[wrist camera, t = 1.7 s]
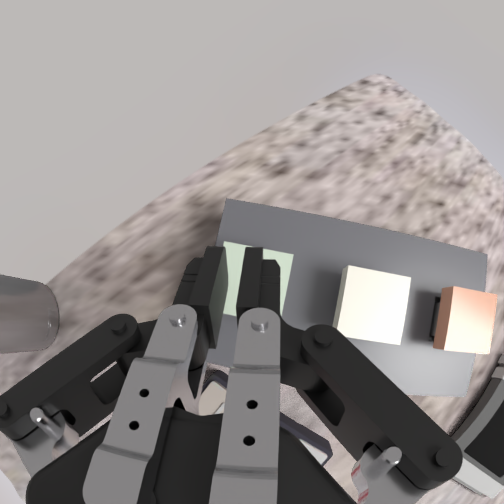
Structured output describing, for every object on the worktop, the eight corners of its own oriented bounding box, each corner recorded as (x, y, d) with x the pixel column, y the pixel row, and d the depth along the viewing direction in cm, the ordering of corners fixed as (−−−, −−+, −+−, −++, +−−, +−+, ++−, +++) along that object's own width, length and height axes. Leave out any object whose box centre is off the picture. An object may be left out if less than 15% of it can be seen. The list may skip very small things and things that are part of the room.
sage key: (221, 310, 27) (209, 309, 22) (234, 254, 28) (224, 241, 23) (278, 322, 27) (279, 325, 22) (290, 265, 28) (293, 254, 22)
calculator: (210, 373, 29) (336, 456, 25) (220, 367, 33) (331, 441, 30) (152, 446, 27) (268, 522, 24) (166, 434, 32) (270, 504, 28)
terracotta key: (415, 344, 26) (443, 350, 20) (424, 291, 26) (453, 286, 21) (457, 349, 25) (488, 354, 20) (465, 298, 26) (497, 294, 20)
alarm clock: (559, 410, 23) (500, 507, 21) (540, 407, 28) (483, 497, 25) (515, 354, 26) (442, 472, 24) (493, 354, 31) (424, 460, 28)
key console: (208, 348, 32) (190, 357, 25) (236, 220, 35) (226, 198, 28) (434, 384, 29) (465, 396, 23) (454, 264, 32) (487, 254, 25)
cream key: (324, 330, 26) (335, 335, 21) (334, 274, 27) (348, 265, 22) (377, 339, 26) (400, 344, 21) (386, 284, 27) (411, 277, 21)
